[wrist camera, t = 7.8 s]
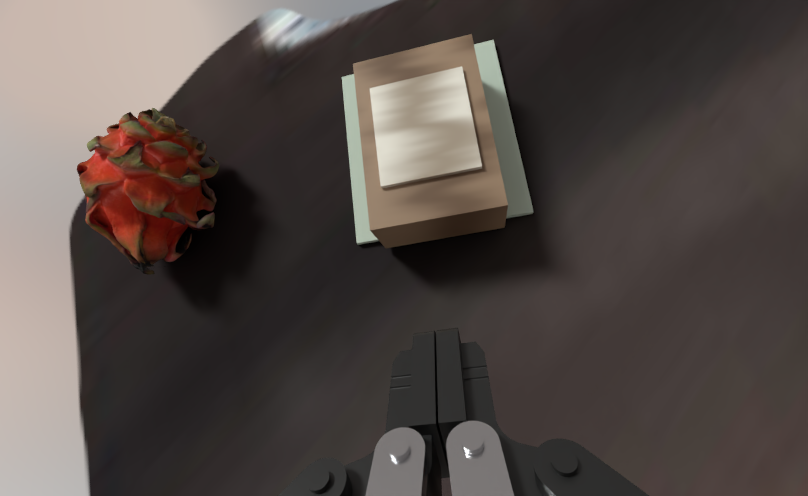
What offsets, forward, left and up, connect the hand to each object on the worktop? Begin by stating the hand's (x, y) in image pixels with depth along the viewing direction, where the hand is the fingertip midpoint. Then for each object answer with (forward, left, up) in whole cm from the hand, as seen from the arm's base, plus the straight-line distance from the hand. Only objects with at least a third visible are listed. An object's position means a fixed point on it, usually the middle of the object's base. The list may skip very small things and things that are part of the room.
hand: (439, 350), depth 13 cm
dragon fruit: (+19, -14, -12) cm, 27 cm away
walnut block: (0, -7, -10) cm, 12 cm away
